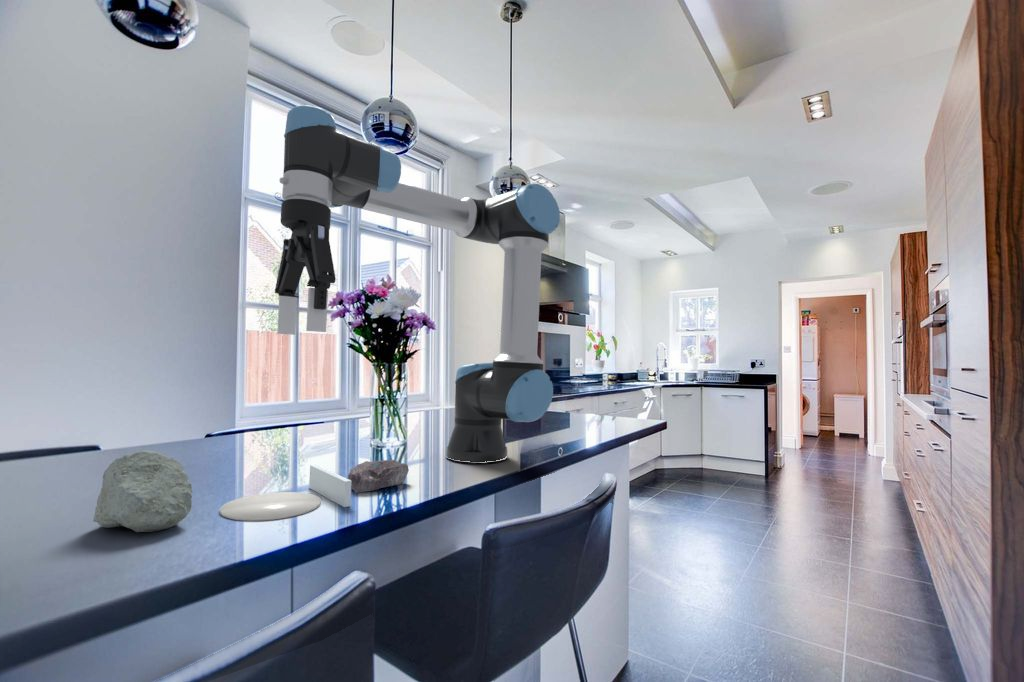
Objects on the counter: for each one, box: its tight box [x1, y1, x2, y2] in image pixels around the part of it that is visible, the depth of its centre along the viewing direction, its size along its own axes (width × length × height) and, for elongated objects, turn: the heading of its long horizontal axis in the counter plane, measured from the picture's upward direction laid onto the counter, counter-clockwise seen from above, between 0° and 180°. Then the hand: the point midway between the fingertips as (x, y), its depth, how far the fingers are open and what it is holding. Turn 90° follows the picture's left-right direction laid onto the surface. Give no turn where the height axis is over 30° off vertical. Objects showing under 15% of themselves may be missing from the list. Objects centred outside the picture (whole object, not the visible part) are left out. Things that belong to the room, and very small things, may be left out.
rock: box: [347, 459, 410, 494], centre depth 90 cm, size 8×11×5 cm
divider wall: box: [308, 464, 352, 508], centre depth 81 cm, size 1×15×4 cm, turn 43°
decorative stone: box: [93, 449, 193, 533], centre depth 65 cm, size 13×11×10 cm
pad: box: [219, 491, 322, 522], centre depth 75 cm, size 14×14×1 cm
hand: (300, 333), depth 78 cm, fingers open, 13 cm apart
